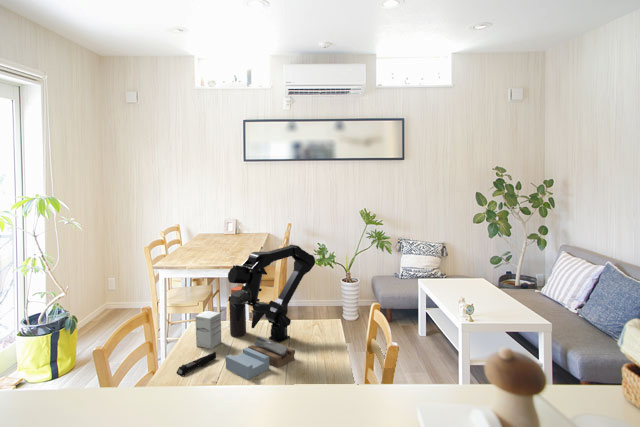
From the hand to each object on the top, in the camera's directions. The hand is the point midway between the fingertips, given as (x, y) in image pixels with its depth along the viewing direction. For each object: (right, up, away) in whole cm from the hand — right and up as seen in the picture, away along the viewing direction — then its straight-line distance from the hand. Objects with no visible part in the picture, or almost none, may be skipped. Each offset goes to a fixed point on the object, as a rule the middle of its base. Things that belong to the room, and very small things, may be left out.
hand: (244, 324), depth 156 cm
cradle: (+3, -12, -13) cm, 18 cm away
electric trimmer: (-15, -12, -11) cm, 23 cm away
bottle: (-6, -9, +17) cm, 20 cm away
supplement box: (-16, -10, +7) cm, 20 cm away
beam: (+11, -11, -5) cm, 16 cm away
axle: (+11, -9, -5) cm, 15 cm away
